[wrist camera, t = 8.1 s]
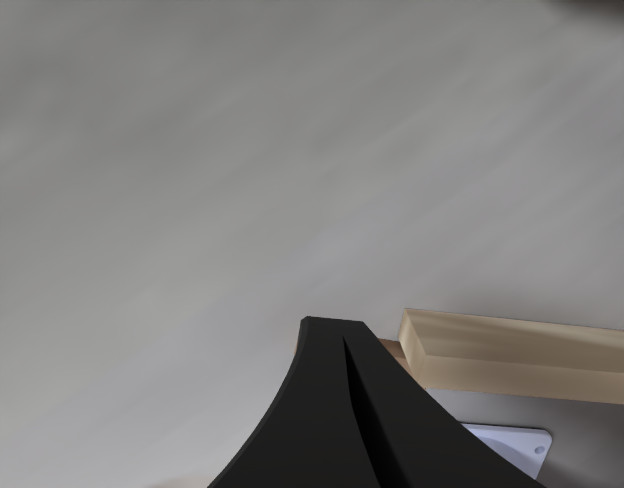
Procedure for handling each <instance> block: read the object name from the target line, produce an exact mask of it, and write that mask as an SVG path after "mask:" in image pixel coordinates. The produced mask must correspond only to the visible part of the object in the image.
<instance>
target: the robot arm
mask: <svg viewBox="0 0 624 488" xmlns="http://www.w3.org/2000/svg"><path fill="white" fill-rule="evenodd" d="M551 443H552V438H551V436H550V434H549V433H548V432H547V431H545V430H538V429H525V428H513V427H500V426H487V425H474V424H461V423H460V422H458V421H457V420H456V419H455V418H454V417H453V416H452V415H450V414H449V413H448V412H447V411H446V410H445V409H444V408H443V407H442V406H441V405H440V404H439V403H438V402H437V401H436V400H435V399H433V398H432V397H431V396H430V395H429V394H428V393H427V392H426V391H425V390H424V389H423V388H422V387H421V386H420V385H419V384H418V383H417V382H416V381H415V380H414V379H413V377H412V376H411V375H410V374H409V373H408V372H407V371H406V370H405V369H404V368H403V367H402V366H401V365H400V363H399V362H398V361H397V360H396V359H395V358H394V357H393V356H392V354H391V353H390V352H389V351H388V350H387V349H386V348H385V346H384V345H383V344H382V343H381V342H380V341H379V339H378V338H377V337H376V336H375V335H374V334H373V332H372V331H371V330H370V329H369V328H368V327H367V326H366V325H365V323H364V322H362V321H352V320H342V319H331V318H321V317H311V316H307V317H305V318H304V319H302V320H301V324H300V330H299V336H298V343H297V349H296V354H295V356H294V359H293V361H292V364H291V366H290V369H289V371H288V373H287V375H286V377H285V379H284V381H283V383H282V385H281V387H280V389H279V391H278V393H277V395H276V396H275V398H274V400H273V402H272V403H271V405H270V407H269V408H268V410H267V412H266V413H265V415H264V416H263V418H262V419H261V421H260V422H259V424H258V425H257V427H256V428H255V430H254V431H253V433H252V434H251V435H250V437H249V438H248V439H247V441H246V442H245V443H244V445H243V446H242V447H241V449H240V450H239V451H238V453H237V454H236V455H235V456H234V457H233V459H232V460H231V461H230V462H229V464H228V465H227V466H226V467H225V468H224V469H223V471H222V472H221V473H220V474H219V475H218V476H217V477H216V478H215V479H214V480H213V481H212V483H211V484H210V485H209V486H208V487H207V488H546V487H545V486H543V485H542V484H540V483H539V482H537V481H536V478H537V475H538V473H539V471H540V468H541V466H542V464H543V461H544V459H545V457H546V454H547V452H548V450H549V448H550V445H551Z"/></svg>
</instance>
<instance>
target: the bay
mask: <svg viewBox="0 0 624 488" xmlns="http://www.w3.org/2000/svg"><path fill="white" fill-rule="evenodd" d="M398 338H399V341H400V343H401V346H402V349H403V351H404V354H405V356H406V359H407V362H408V364H409V367H410V369H411V372H412V374H413V377H414V380H415V381H416V382H417V383H418V384H419V385H420V386H421V387H425V388H437V389H448V390H460V391H472V392H484V393H496V394H507V395H519V396H531V397H543V398H555V399H566V400H578V401H590V402H602V403H614V404H624V331H621V330H612V329H602V328H592V327H582V326H572V325H563V324H553V323H543V322H533V321H523V320H514V319H504V318H494V317H484V316H474V315H465V314H455V313H445V312H435V311H425V310H416V309H406V308H405V310H404V314H403V318H402V322H401V326H400V330H399V334H398Z"/></svg>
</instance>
